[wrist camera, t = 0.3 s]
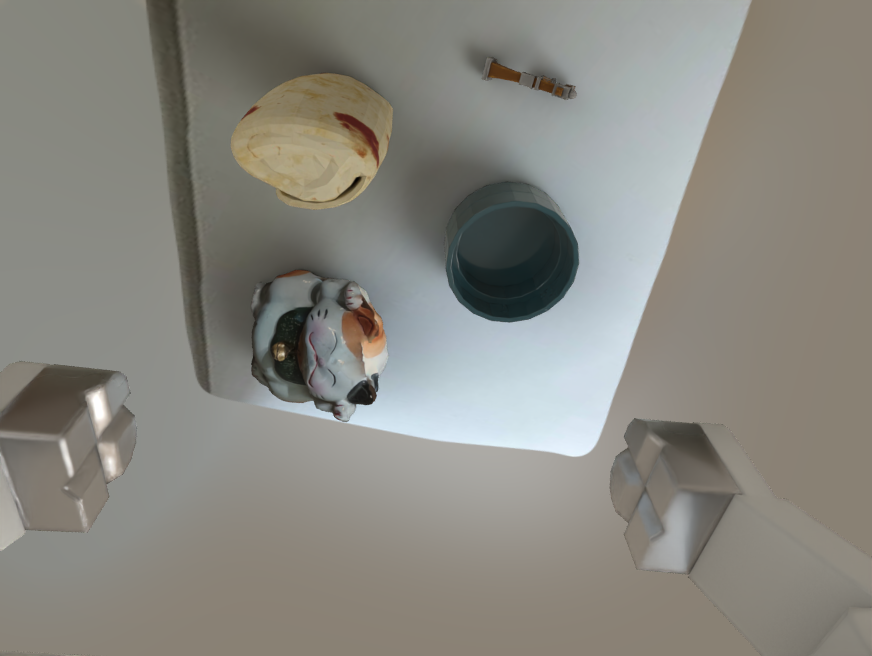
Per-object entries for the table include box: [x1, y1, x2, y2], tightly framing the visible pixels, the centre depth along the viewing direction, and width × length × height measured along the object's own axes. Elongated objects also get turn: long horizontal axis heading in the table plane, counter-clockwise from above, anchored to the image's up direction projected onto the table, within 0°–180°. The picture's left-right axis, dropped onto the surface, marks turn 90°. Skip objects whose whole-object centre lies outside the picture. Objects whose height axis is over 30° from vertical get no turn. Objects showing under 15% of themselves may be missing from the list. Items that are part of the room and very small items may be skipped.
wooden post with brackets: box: [482, 57, 577, 100], centre depth 49 cm, size 2×8×4 cm, turn 77°
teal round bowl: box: [444, 182, 579, 322], centre depth 56 cm, size 12×12×6 cm
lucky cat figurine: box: [251, 270, 389, 422], centre depth 57 cm, size 15×12×14 cm
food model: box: [231, 73, 393, 210], centre depth 43 cm, size 10×7×20 cm
